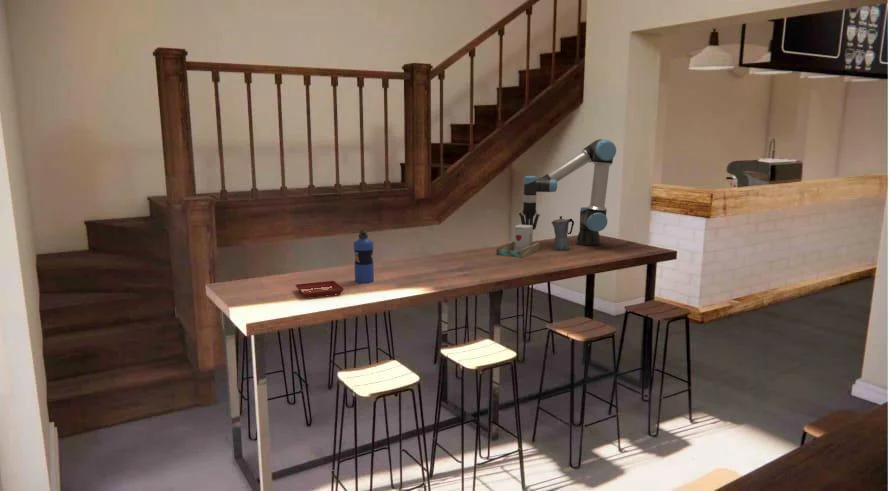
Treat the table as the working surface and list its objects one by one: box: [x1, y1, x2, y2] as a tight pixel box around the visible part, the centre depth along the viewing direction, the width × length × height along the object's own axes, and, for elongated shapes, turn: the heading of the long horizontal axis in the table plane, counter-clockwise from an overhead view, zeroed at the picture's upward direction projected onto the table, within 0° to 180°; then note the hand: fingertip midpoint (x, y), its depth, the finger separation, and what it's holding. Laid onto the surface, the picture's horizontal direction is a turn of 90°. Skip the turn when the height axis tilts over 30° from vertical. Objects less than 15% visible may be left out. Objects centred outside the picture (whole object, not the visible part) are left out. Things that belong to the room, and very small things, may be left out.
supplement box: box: [513, 224, 534, 252], centre depth 377 cm, size 9×9×15 cm
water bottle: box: [353, 229, 375, 284], centre depth 302 cm, size 9×9×25 cm
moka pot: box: [551, 215, 575, 251], centre depth 380 cm, size 10×15×20 cm, turn 115°
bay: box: [496, 239, 541, 258], centre depth 372 cm, size 16×24×4 cm
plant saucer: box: [295, 280, 345, 299], centre depth 284 cm, size 18×18×3 cm
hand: (528, 240), depth 384 cm, fingers closed
